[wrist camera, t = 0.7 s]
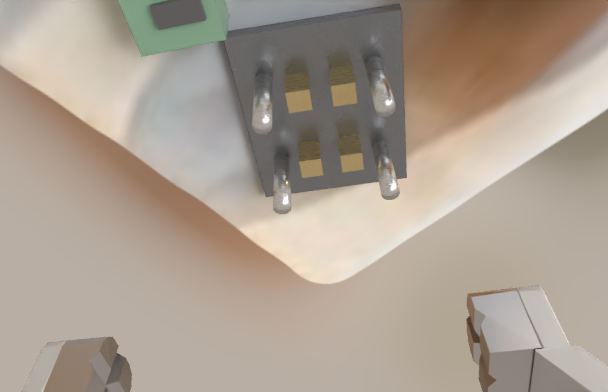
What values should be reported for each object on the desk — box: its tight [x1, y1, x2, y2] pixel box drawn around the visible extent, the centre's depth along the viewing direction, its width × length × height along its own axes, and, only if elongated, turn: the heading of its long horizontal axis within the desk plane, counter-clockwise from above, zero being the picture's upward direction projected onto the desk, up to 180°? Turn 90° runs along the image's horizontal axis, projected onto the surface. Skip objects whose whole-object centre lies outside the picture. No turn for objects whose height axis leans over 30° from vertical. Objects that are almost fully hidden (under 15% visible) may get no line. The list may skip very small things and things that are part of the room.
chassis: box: [224, 4, 407, 214], centre depth 43 cm, size 16×13×7 cm
